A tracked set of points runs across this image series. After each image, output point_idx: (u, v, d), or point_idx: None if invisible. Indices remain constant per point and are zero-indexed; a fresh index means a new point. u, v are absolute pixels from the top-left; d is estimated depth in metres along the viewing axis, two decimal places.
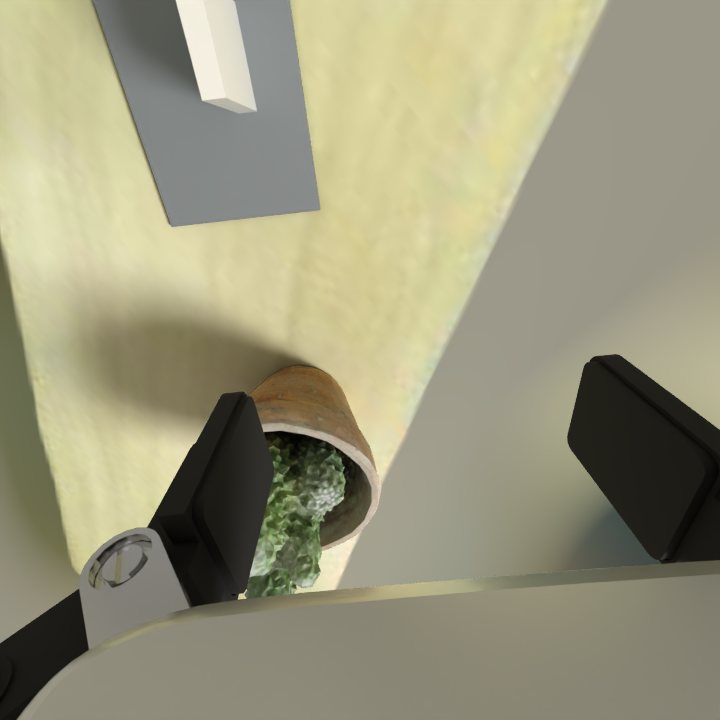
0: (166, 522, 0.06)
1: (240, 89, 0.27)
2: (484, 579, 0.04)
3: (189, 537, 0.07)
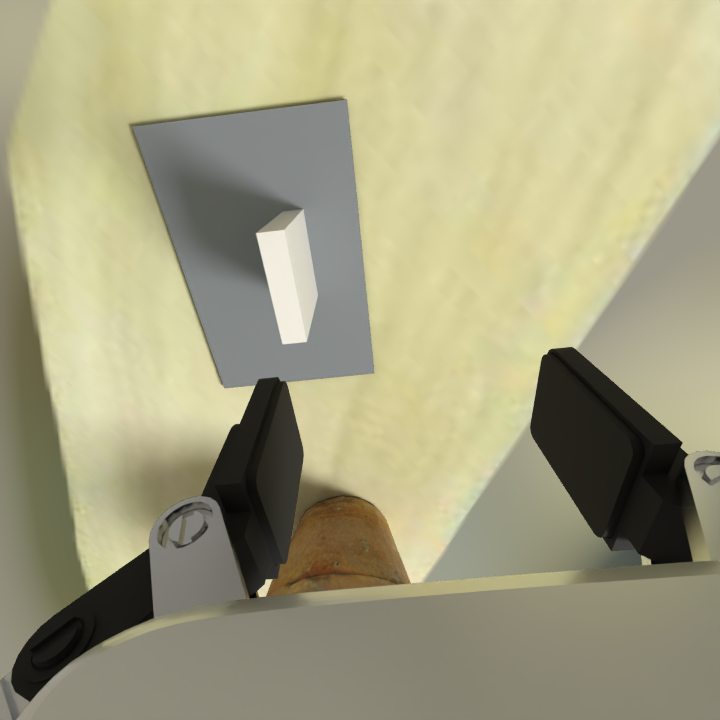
0: (223, 491, 0.07)
1: (310, 302, 0.27)
2: (484, 579, 0.04)
3: (243, 506, 0.07)
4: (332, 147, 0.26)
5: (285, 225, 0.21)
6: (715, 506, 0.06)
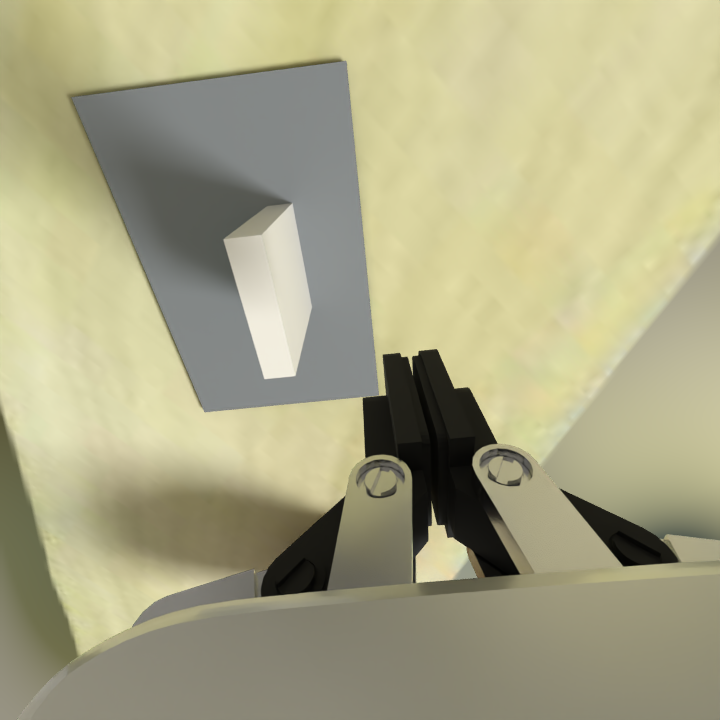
0: (402, 450, 0.07)
1: (302, 320, 0.22)
2: (484, 579, 0.04)
3: (416, 465, 0.08)
4: (328, 124, 0.20)
5: (264, 227, 0.16)
6: (511, 505, 0.06)
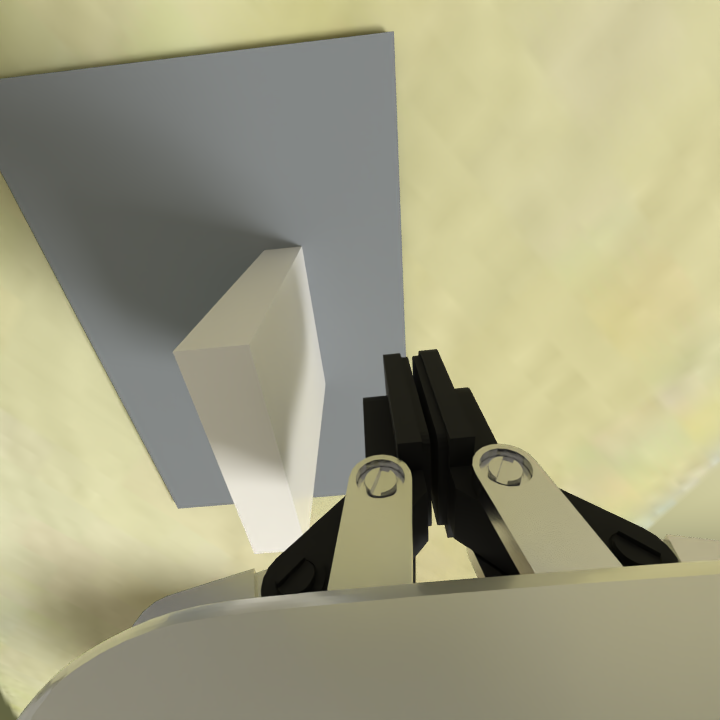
0: (402, 450, 0.07)
1: (314, 424, 0.14)
2: (484, 579, 0.04)
3: (416, 465, 0.08)
4: (359, 132, 0.13)
5: (257, 315, 0.09)
6: (511, 505, 0.06)
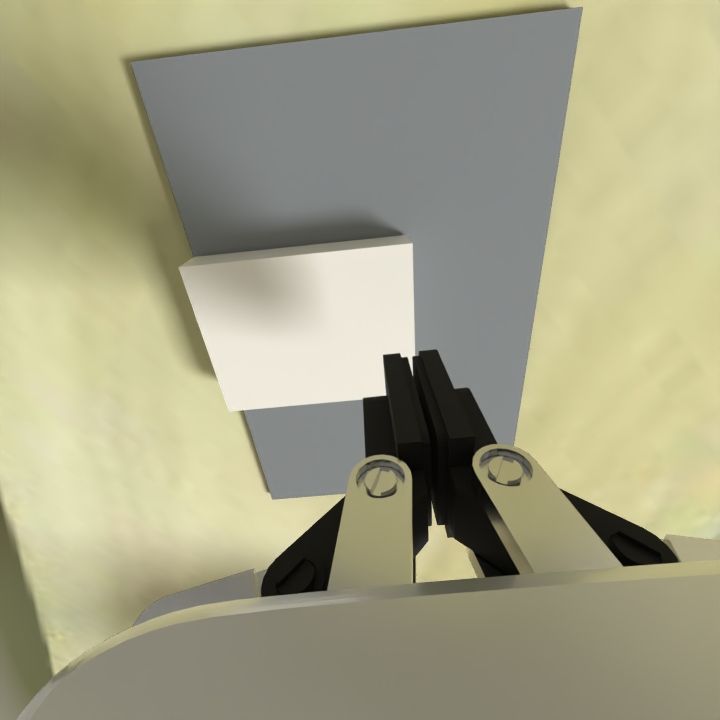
0: (402, 450, 0.07)
1: (320, 385, 0.17)
2: (484, 579, 0.04)
3: (416, 465, 0.08)
4: (528, 111, 0.13)
5: (219, 261, 0.14)
6: (511, 505, 0.06)
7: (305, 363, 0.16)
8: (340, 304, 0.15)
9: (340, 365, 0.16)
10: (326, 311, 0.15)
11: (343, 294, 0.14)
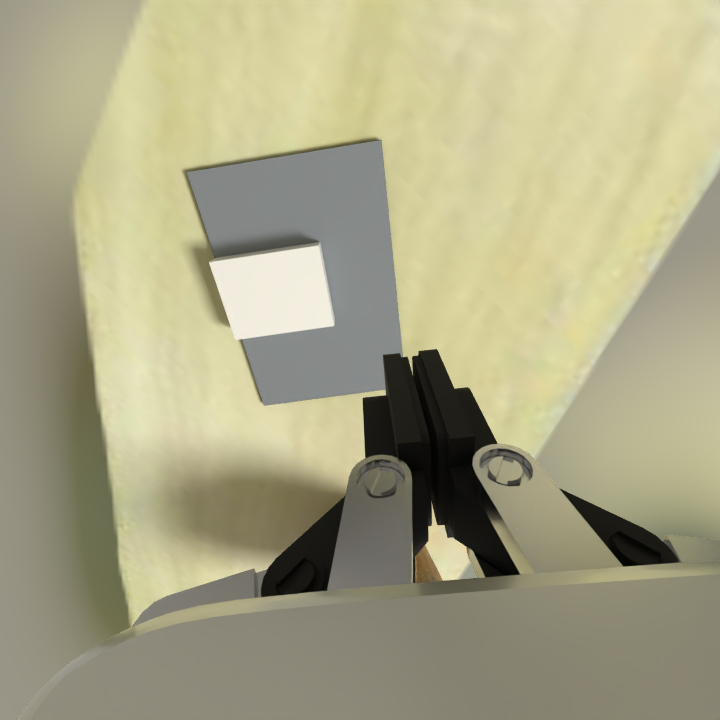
0: (402, 450, 0.07)
1: (282, 322, 0.32)
2: (484, 579, 0.04)
3: (416, 465, 0.08)
4: (367, 182, 0.28)
5: (228, 258, 0.29)
6: (511, 505, 0.06)
7: (273, 310, 0.31)
8: (288, 277, 0.30)
9: (291, 310, 0.31)
10: (281, 281, 0.30)
11: (288, 272, 0.30)
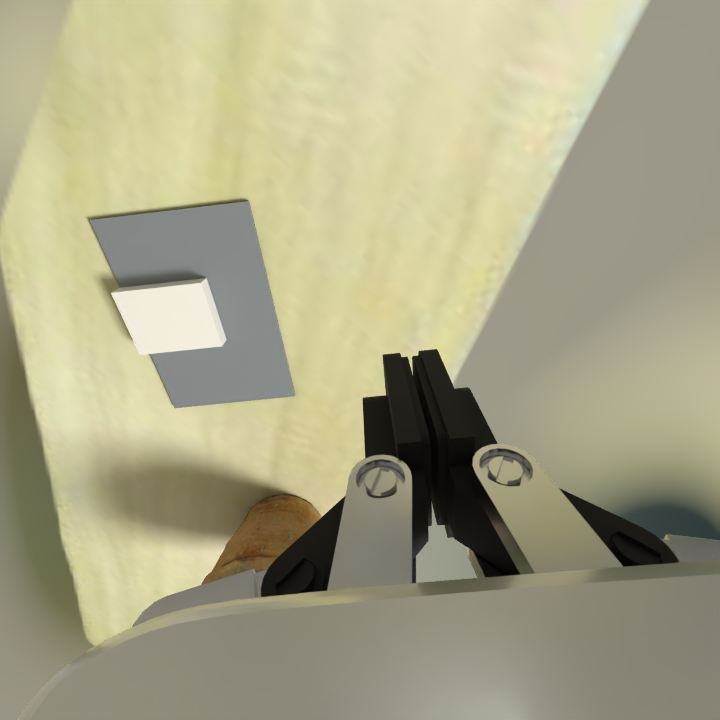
0: (402, 450, 0.07)
1: (178, 342, 0.38)
2: (484, 579, 0.04)
3: (416, 465, 0.08)
4: (240, 233, 0.34)
5: (127, 290, 0.35)
6: (511, 505, 0.06)
7: (169, 332, 0.37)
8: (178, 306, 0.36)
9: (184, 333, 0.37)
10: (173, 309, 0.36)
11: (178, 302, 0.36)
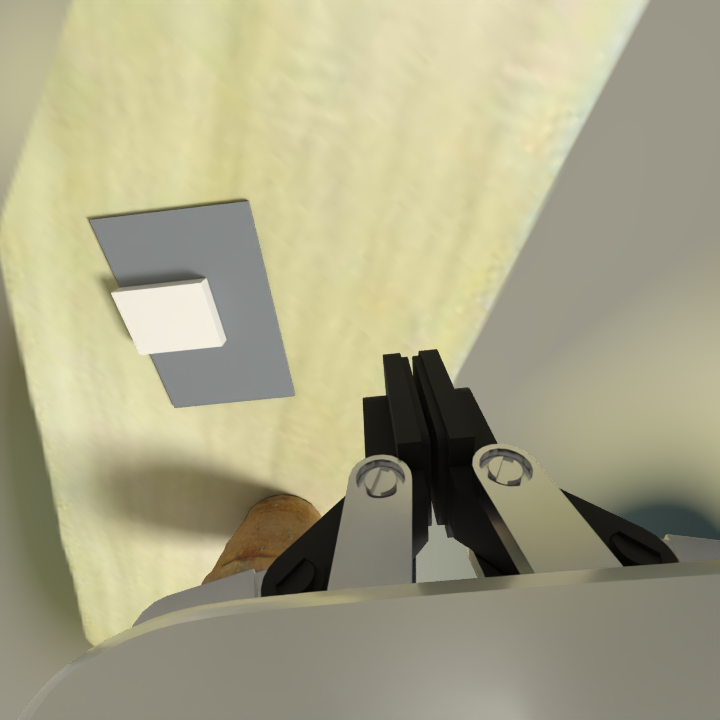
0: (402, 450, 0.07)
1: (178, 342, 0.38)
2: (484, 579, 0.04)
3: (416, 465, 0.08)
4: (240, 233, 0.34)
5: (126, 290, 0.35)
6: (511, 505, 0.06)
7: (169, 332, 0.37)
8: (178, 306, 0.36)
9: (184, 332, 0.37)
10: (173, 309, 0.36)
11: (178, 302, 0.36)
